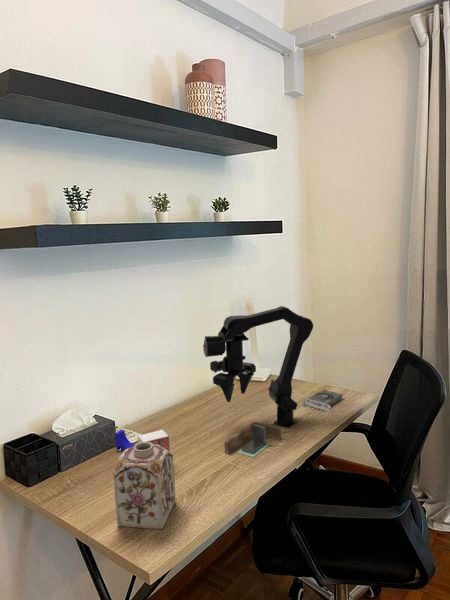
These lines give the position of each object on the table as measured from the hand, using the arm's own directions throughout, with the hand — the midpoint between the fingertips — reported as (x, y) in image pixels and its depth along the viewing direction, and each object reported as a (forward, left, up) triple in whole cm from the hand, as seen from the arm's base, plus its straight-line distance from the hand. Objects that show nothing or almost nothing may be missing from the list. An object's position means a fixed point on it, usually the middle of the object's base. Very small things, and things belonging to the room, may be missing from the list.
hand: (235, 397), depth 158 cm
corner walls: (+7, +11, -12) cm, 18 cm away
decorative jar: (+51, +8, -12) cm, 54 cm away
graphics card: (-40, +16, -13) cm, 44 cm away
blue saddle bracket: (+29, -20, -12) cm, 37 cm away
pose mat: (+8, +12, -12) cm, 19 cm away
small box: (+34, -6, -12) cm, 37 cm away
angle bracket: (+8, +12, -12) cm, 19 cm away
